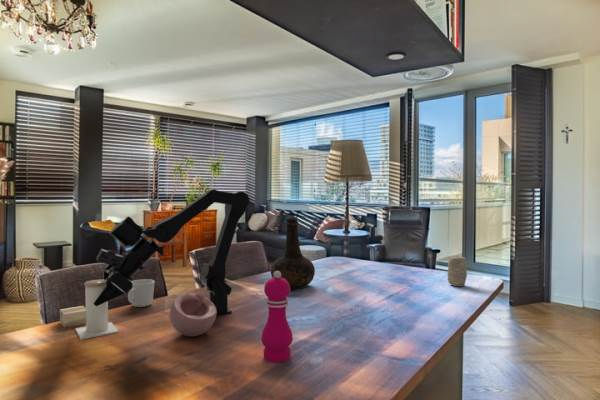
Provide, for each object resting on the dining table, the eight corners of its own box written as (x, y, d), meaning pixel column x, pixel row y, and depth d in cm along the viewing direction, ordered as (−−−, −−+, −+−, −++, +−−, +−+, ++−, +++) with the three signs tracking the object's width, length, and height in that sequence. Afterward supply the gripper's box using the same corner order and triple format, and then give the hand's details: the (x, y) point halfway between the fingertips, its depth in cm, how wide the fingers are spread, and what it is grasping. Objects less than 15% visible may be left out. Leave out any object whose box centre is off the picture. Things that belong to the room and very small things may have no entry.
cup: (140, 312, 123) (140, 287, 123) (118, 310, 124) (118, 285, 124) (159, 302, 133) (159, 279, 133) (138, 301, 135) (138, 278, 135)
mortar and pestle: (191, 347, 95) (191, 300, 95) (159, 337, 101) (159, 294, 101) (225, 332, 105) (225, 290, 105) (194, 324, 111) (194, 284, 111)
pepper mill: (261, 351, 93) (261, 268, 92) (291, 350, 93) (291, 267, 93) (261, 364, 86) (261, 274, 85) (293, 363, 86) (293, 273, 86)
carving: (469, 287, 157) (469, 258, 157) (450, 287, 157) (451, 257, 157) (463, 283, 163) (463, 255, 163) (445, 283, 163) (445, 255, 163)
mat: (118, 332, 105) (118, 330, 105) (80, 339, 99) (80, 338, 99) (111, 323, 112) (111, 321, 112) (75, 329, 106) (75, 328, 106)
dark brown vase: (317, 282, 164) (317, 217, 164) (311, 293, 147) (311, 219, 146) (276, 281, 167) (276, 216, 167) (265, 291, 150) (265, 219, 149)
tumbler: (113, 328, 106) (112, 281, 106) (91, 334, 102) (90, 285, 101) (102, 324, 110) (102, 278, 109) (81, 330, 105) (80, 282, 105)
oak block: (87, 324, 112) (87, 310, 112) (63, 328, 108) (63, 314, 108) (83, 318, 117) (83, 305, 116) (60, 323, 113) (60, 309, 113)
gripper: (112, 235, 116) (70, 275, 110) (118, 242, 99) (68, 290, 94) (140, 259, 120) (101, 299, 114) (150, 269, 104) (105, 317, 98)
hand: (94, 300), depth 105 cm, fingers open, 9 cm apart
